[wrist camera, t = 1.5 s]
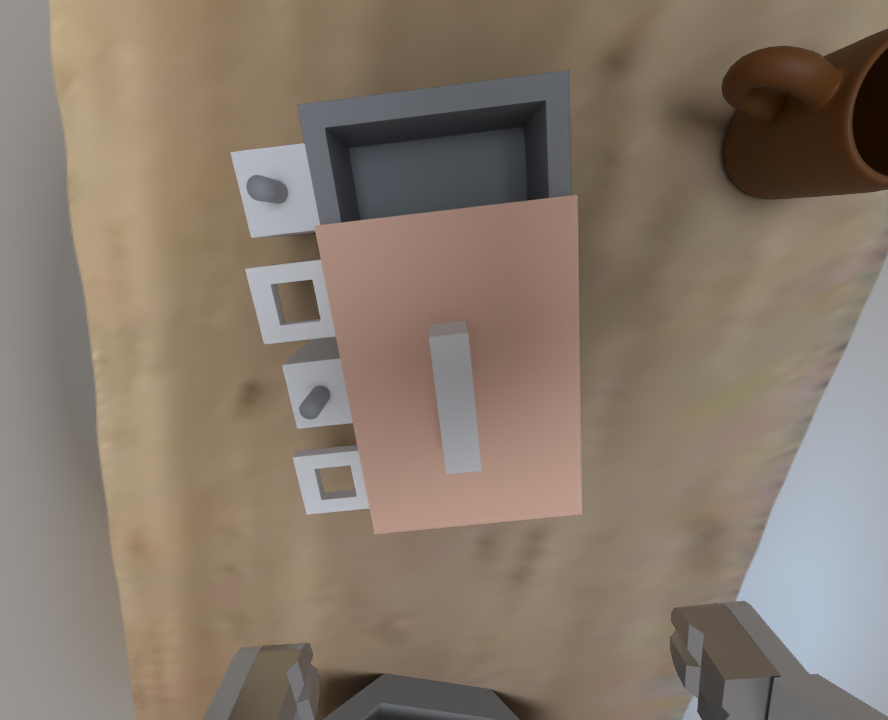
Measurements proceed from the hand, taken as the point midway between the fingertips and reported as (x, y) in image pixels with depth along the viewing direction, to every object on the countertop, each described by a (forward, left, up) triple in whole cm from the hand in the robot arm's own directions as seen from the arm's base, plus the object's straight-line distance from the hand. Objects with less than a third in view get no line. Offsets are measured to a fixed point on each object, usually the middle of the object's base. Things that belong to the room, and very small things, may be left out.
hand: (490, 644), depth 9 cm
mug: (-13, +21, -25) cm, 35 cm away
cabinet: (-6, -2, -25) cm, 25 cm away
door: (0, -2, -18) cm, 18 cm away
